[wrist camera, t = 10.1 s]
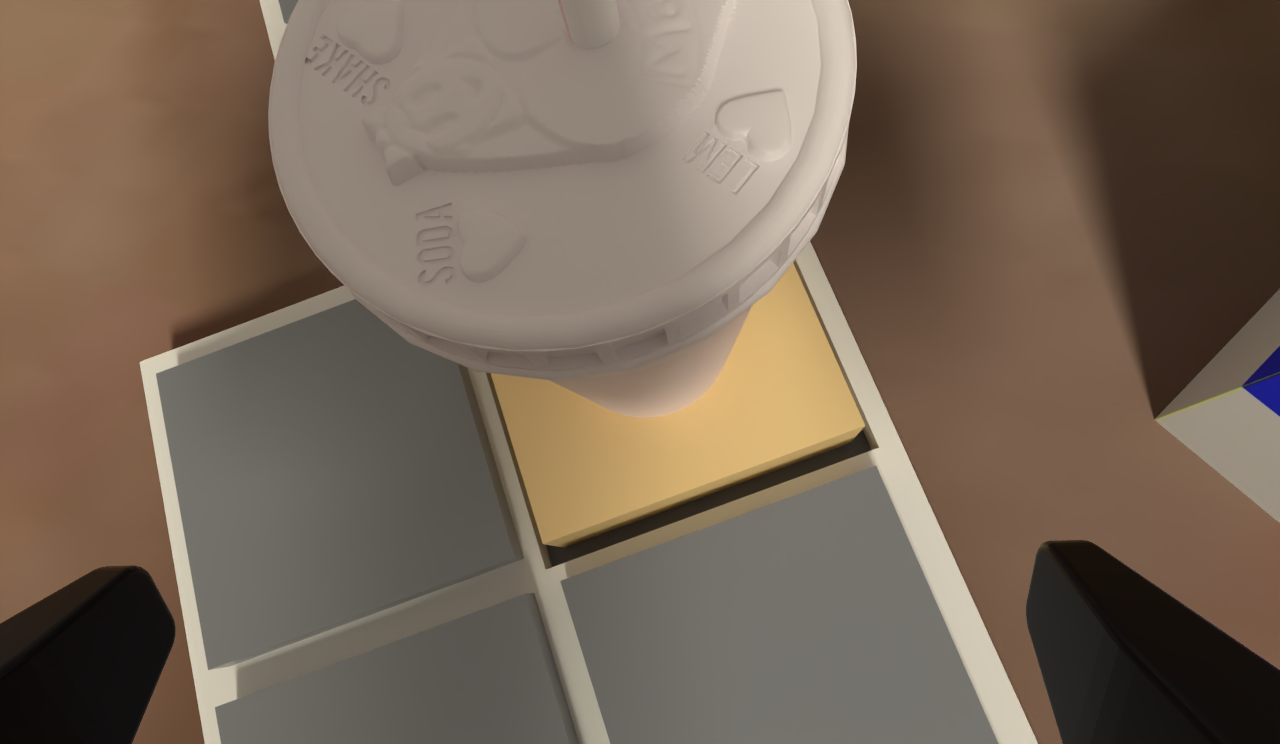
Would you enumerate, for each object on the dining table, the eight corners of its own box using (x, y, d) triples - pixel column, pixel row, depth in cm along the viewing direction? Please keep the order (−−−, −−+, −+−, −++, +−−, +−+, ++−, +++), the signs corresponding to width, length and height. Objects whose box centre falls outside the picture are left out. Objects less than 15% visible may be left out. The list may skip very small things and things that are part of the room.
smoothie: (850, 386, 17) (1340, -416, 3) (586, 537, 16) (-53, 346, 3) (699, 156, 18) (610, -982, 5) (459, 290, 18) (-301, -516, 5)
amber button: (850, 442, 19) (865, 425, 16) (564, 547, 19) (543, 543, 17) (738, 186, 21) (740, 142, 18) (481, 283, 21) (452, 249, 19)
